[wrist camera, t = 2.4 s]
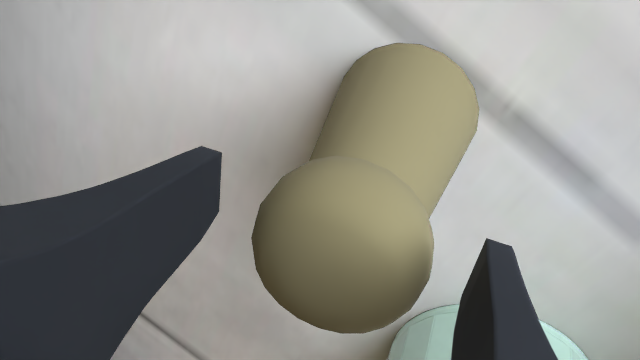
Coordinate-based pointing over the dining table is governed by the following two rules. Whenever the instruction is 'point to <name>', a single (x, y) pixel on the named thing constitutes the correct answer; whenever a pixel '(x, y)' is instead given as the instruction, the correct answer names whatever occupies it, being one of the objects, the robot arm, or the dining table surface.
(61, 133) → the dining table surface
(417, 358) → the green bowl
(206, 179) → the robot arm
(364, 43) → the dining table surface
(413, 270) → the cork
